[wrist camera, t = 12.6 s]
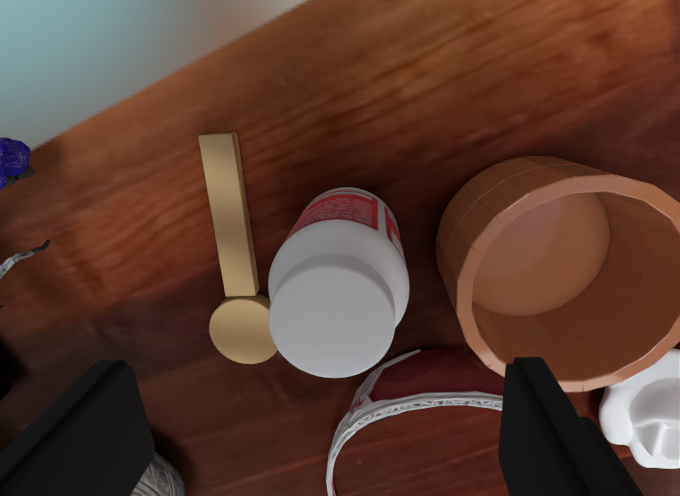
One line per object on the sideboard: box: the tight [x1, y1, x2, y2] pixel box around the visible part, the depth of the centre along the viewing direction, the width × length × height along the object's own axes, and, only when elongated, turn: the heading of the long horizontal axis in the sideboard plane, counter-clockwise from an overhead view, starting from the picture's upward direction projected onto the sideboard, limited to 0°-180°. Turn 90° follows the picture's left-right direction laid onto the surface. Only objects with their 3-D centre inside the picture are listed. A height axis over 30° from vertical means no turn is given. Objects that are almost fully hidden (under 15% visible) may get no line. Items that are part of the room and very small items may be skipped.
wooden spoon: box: [198, 132, 278, 364], centre depth 26 cm, size 15×5×1 cm, turn 4°
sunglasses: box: [326, 348, 580, 496], centre depth 29 cm, size 17×17×5 cm
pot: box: [435, 156, 680, 392], centre depth 21 cm, size 10×10×7 cm
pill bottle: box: [268, 187, 409, 378], centre depth 20 cm, size 6×6×11 cm
